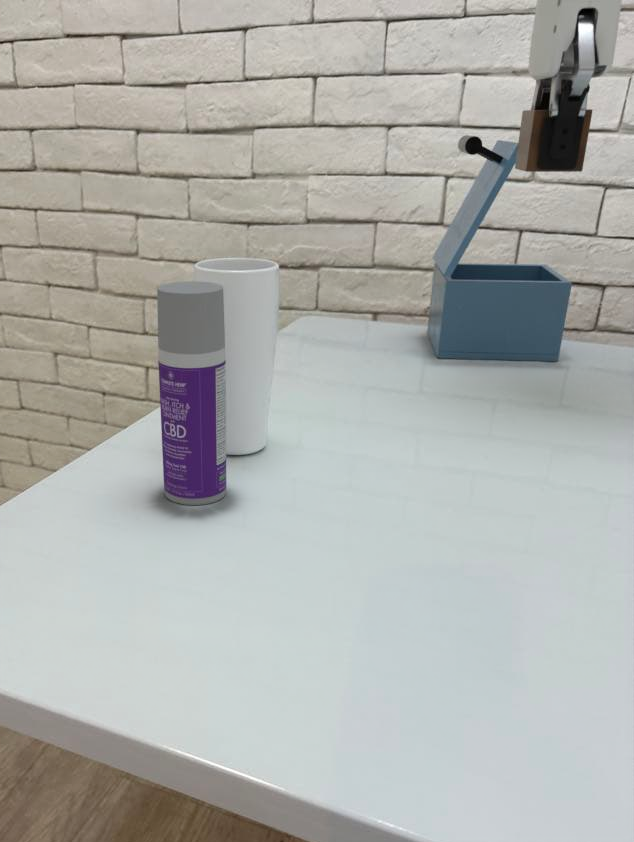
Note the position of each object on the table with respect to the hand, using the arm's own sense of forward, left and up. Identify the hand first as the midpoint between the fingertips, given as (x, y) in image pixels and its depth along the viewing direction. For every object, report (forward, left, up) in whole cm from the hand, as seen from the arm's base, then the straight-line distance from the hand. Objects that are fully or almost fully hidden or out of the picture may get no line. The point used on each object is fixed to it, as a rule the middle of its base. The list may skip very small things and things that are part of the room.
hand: (548, 165), depth 74 cm
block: (0, 0, 0) cm, 0 cm away
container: (+28, +28, -21) cm, 45 cm away
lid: (+3, -19, -5) cm, 21 cm away
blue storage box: (-1, -20, -21) cm, 29 cm away
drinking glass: (+26, +18, -21) cm, 38 cm away
